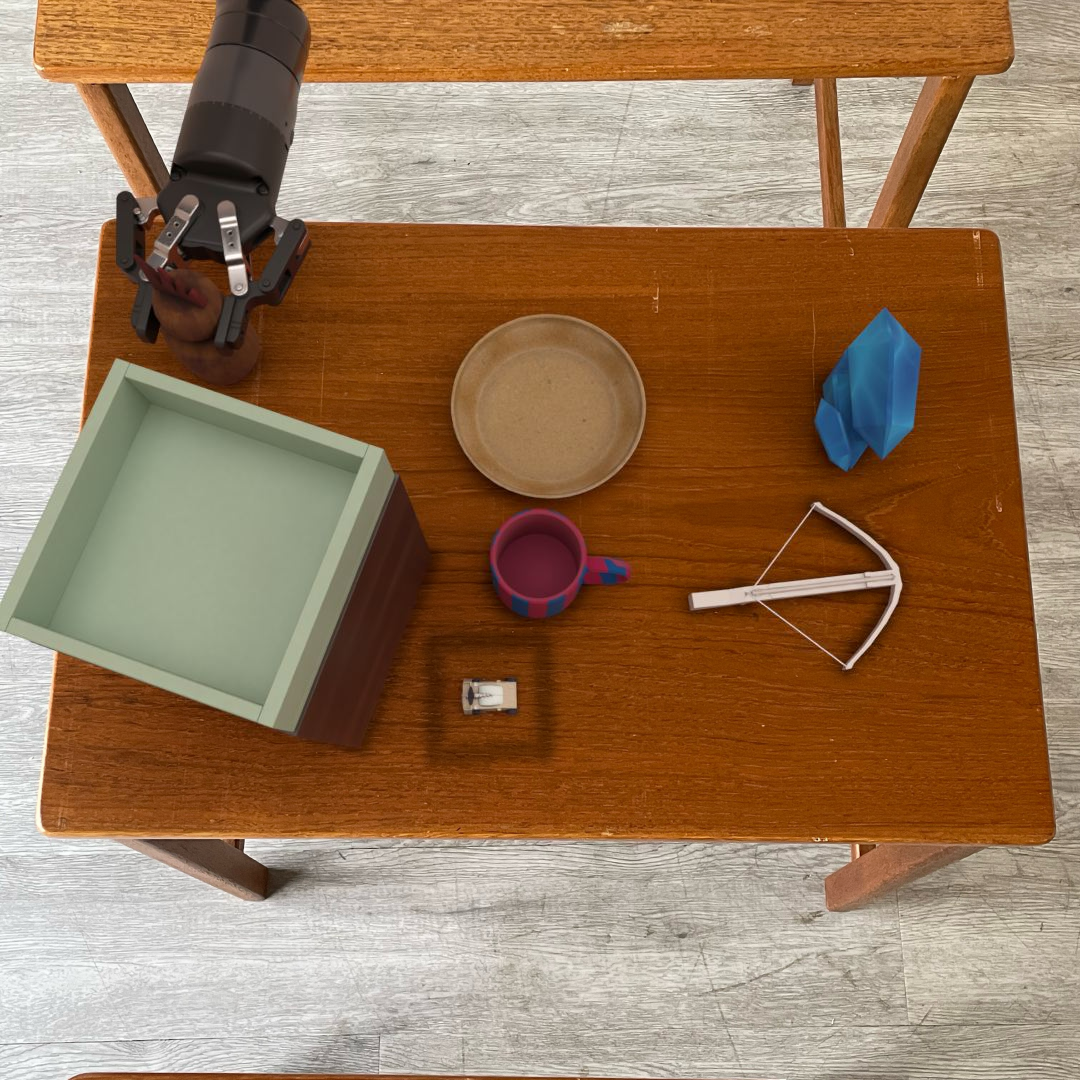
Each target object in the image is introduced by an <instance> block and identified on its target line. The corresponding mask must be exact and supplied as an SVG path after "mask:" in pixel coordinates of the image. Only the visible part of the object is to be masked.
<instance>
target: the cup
mask: <svg viewBox="0 0 1080 1080" xmlns="http://www.w3.org/2000/svg"><path fill="white" fill-rule="evenodd" d="M491 541H492V542H491V544H490V550H489V562H490V570H491V576H492V584H493V588H494V590H495V593H496V595H497V596H498V598H499V600H500V601H501V602H502V603H503V604H504V606H505V607H507V608H508V609H509V610H510V611H512V612H514V613H515V614H517V615H519V616H522V617H524V618H531V619H543V618H544V619H546V618H549V617H552V616H555V615H557V614H560V613H561V612H563V611H564V610H565V609H566V608H568V607H569V606H570V604H572V602H573V601H574V600H575V598H576V596H577V595H578V593H579V590H580V588H581V586H582V585H617V584H618V585H619V584H622V583H626V582H628V581H629V580H631V578H632V565H631V564H630V563H629V562H628V561H626V560H623V559H620V558H615V557H608V556H607V557H606V556H588V549H587V545H586V542H585V538H584V537H583V535H582V533H581V531H580V528H578V527H577V526H576V525H575V523H574V522H573V521H571V520H570V518H568V517H567V516H565V515H564V514H561V513H560V512H557V511H554V510H550V509H546V508H531V509H525V510H522V511H520V512H517V513H515V514H514V515H512V516H510V517H509V518H507V520H505V521H504V522H503V523H502V525H500V526H499V528H498V529H497V531H496V533H495V534H494V536H493V539H492V540H491Z"/></svg>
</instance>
